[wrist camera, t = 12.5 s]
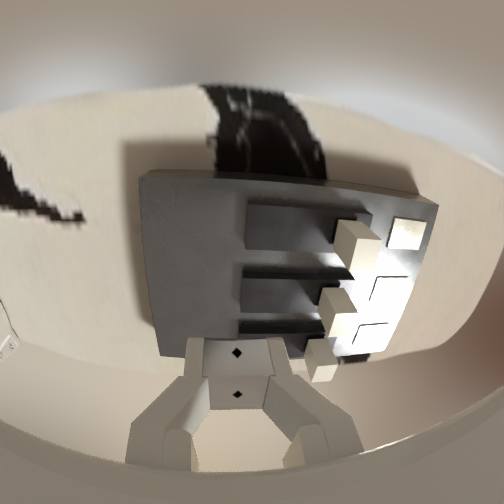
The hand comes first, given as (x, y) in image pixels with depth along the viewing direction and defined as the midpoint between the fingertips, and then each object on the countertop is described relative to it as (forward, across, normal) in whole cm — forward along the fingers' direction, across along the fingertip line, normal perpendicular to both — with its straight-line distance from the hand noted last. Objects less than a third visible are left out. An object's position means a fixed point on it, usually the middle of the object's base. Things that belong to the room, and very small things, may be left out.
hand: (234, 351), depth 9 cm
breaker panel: (+14, +6, -5) cm, 16 cm away
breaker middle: (+10, +8, -5) cm, 14 cm away
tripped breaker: (+10, +8, 0) cm, 13 cm away
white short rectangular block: (+10, +8, -11) cm, 17 cm away
